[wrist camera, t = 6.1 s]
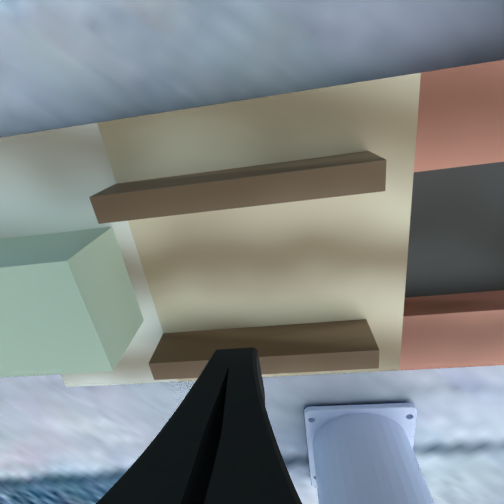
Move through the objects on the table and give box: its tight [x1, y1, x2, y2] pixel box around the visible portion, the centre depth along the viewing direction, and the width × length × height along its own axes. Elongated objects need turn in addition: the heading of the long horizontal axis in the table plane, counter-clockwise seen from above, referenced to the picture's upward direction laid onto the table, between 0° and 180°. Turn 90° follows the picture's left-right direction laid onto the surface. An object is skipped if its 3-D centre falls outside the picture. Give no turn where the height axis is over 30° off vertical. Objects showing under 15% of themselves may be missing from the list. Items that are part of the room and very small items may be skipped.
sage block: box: [0, 227, 144, 377], centre depth 16 cm, size 6×7×4 cm
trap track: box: [0, 60, 504, 387], centre depth 17 cm, size 16×31×4 cm, turn 98°
